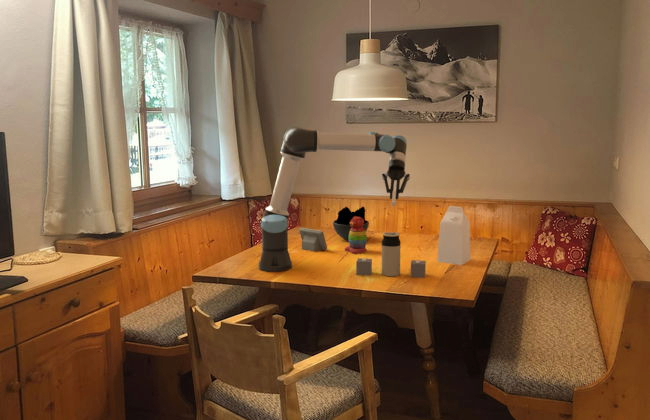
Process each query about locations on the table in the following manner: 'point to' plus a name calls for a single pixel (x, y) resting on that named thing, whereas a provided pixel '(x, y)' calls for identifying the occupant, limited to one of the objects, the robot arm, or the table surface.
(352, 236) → the stacking bear
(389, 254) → the travel mug
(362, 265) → the dotted block left
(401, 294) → the table surface
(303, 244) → the digital clock
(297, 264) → the table surface
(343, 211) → the bowl of black rocks
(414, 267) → the dotted block right
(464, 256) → the milk
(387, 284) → the table surface
